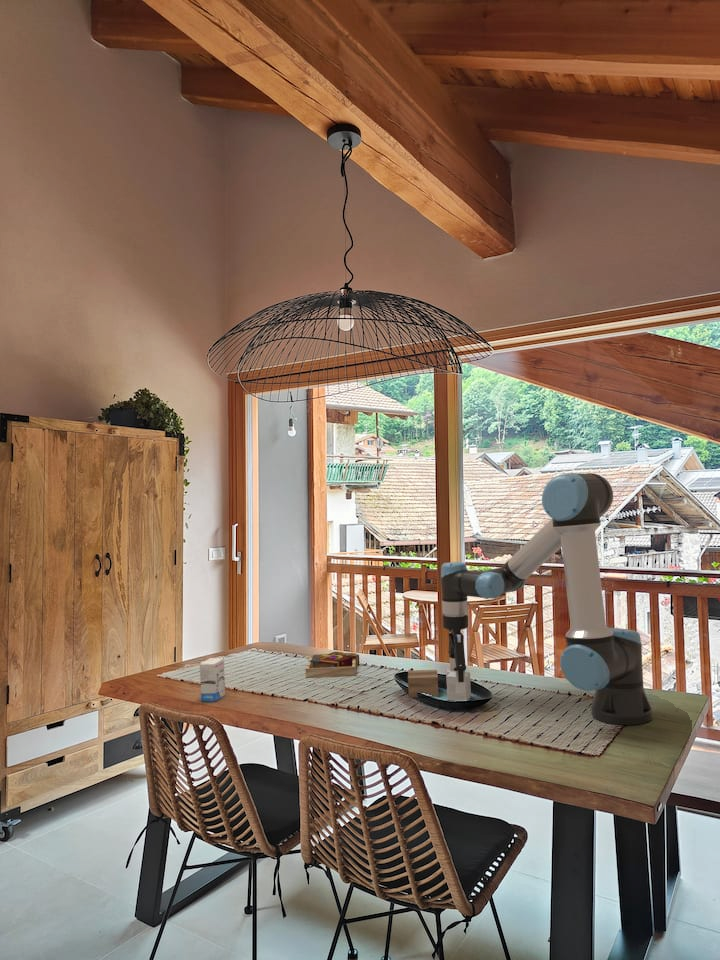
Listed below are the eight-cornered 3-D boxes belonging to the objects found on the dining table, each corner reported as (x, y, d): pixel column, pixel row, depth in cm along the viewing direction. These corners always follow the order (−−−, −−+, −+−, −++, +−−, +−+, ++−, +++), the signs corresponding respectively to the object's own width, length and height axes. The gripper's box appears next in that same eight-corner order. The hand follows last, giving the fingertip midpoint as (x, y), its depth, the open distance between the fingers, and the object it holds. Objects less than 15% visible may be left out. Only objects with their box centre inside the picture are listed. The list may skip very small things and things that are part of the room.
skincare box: (451, 695, 209) (450, 671, 210) (471, 696, 207) (470, 671, 208) (447, 701, 204) (446, 676, 204) (467, 702, 202) (466, 677, 202)
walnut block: (438, 697, 209) (437, 677, 209) (408, 697, 209) (407, 677, 210) (437, 689, 218) (436, 669, 218) (409, 689, 218) (408, 670, 219)
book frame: (355, 675, 238) (354, 666, 238) (306, 677, 238) (305, 669, 238) (356, 660, 260) (355, 652, 260) (311, 662, 260) (310, 654, 260)
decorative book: (360, 666, 253) (359, 652, 253) (334, 676, 239) (333, 662, 239) (335, 663, 259) (334, 649, 259) (308, 673, 245) (308, 659, 246)
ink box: (215, 702, 213) (213, 663, 214) (200, 702, 214) (198, 663, 215) (226, 694, 222) (224, 657, 222) (211, 694, 223) (210, 657, 223)
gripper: (474, 622, 194) (477, 698, 193) (462, 607, 219) (464, 674, 218) (447, 622, 194) (450, 699, 193) (438, 607, 219) (440, 675, 218)
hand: (457, 686), depth 206 cm, fingers open, 13 cm apart
